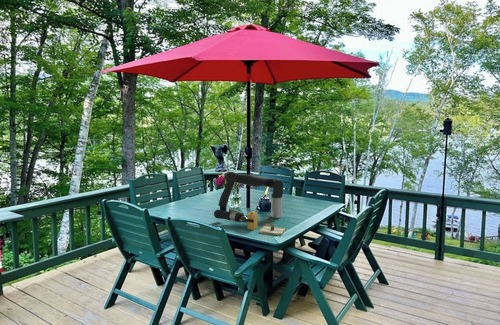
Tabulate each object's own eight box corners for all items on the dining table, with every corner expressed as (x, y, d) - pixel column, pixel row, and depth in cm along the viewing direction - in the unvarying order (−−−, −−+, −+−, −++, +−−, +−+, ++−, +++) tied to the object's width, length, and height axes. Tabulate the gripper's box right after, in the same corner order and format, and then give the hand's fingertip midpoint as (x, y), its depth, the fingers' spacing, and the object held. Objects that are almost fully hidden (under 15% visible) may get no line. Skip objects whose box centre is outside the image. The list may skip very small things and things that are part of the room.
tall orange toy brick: (247, 228, 254) (247, 212, 253) (251, 227, 259) (251, 210, 258) (253, 230, 252) (254, 213, 250) (257, 228, 256) (257, 211, 255)
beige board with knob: (264, 227, 257) (264, 220, 257) (285, 230, 252) (285, 223, 251) (258, 233, 244) (258, 225, 244) (281, 235, 238) (281, 228, 238)
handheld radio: (240, 220, 278) (224, 214, 298) (243, 220, 279) (227, 213, 300) (240, 213, 277) (224, 207, 297) (243, 212, 279) (228, 206, 299)
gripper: (231, 214, 255) (250, 217, 247) (241, 210, 268) (260, 213, 259) (231, 223, 256) (250, 227, 248) (241, 219, 268) (260, 222, 260)
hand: (255, 220), depth 253 cm, fingers closed on tall orange toy brick, 5 cm apart
